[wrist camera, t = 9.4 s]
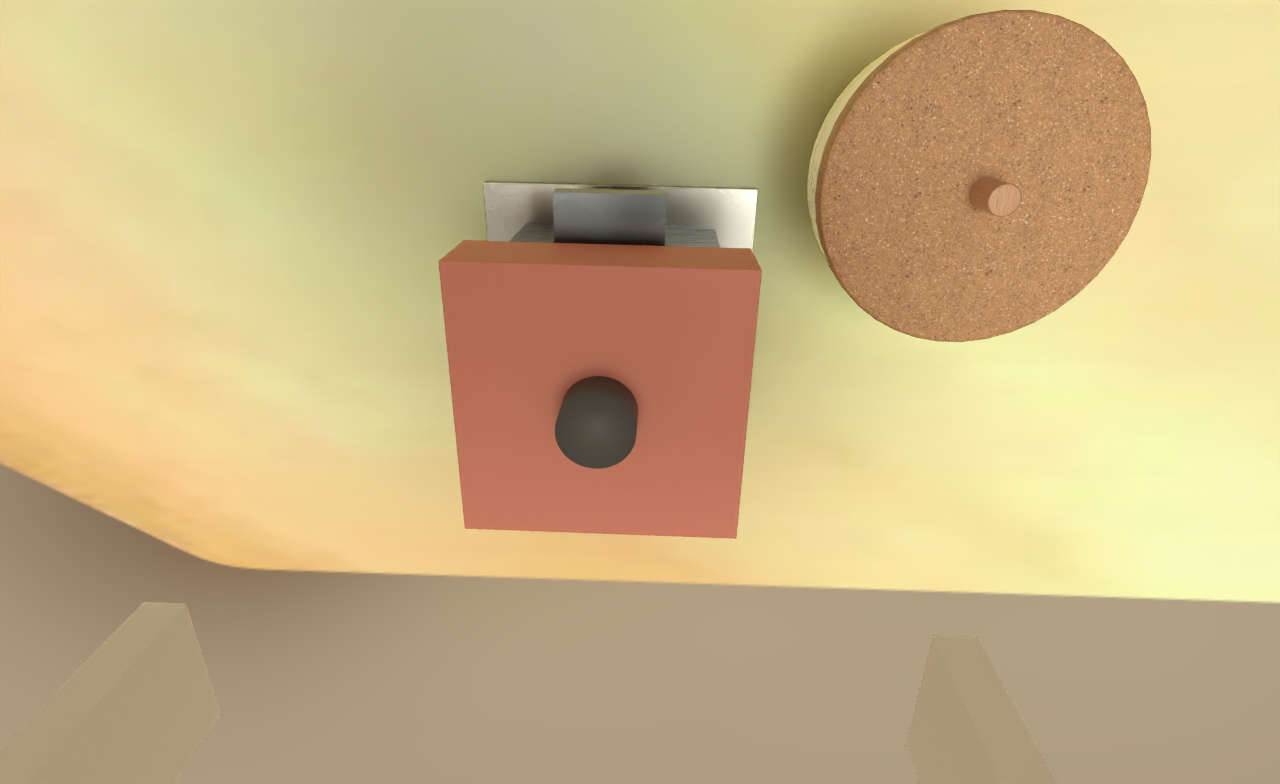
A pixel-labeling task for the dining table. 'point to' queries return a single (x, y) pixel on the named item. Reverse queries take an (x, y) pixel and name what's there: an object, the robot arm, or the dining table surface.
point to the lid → (600, 385)
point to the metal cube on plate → (620, 214)
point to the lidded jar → (980, 174)
